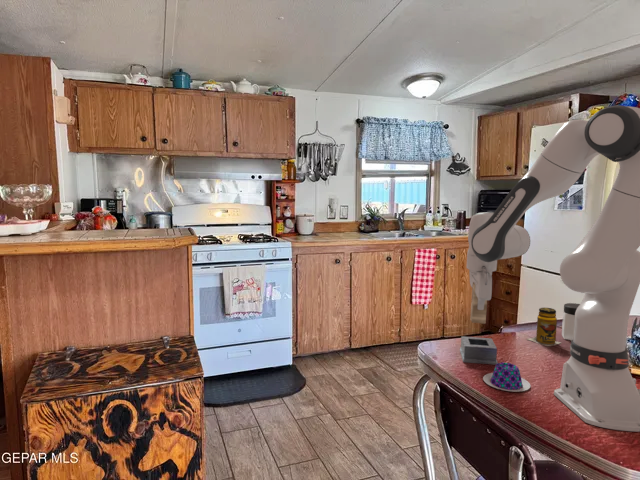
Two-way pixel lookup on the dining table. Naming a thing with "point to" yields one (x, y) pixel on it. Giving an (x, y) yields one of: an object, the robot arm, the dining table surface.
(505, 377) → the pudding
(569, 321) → the jar
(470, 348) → the socket holder
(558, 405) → the dining table surface
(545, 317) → the condiment
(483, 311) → the wooden peg
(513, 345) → the dining table surface
